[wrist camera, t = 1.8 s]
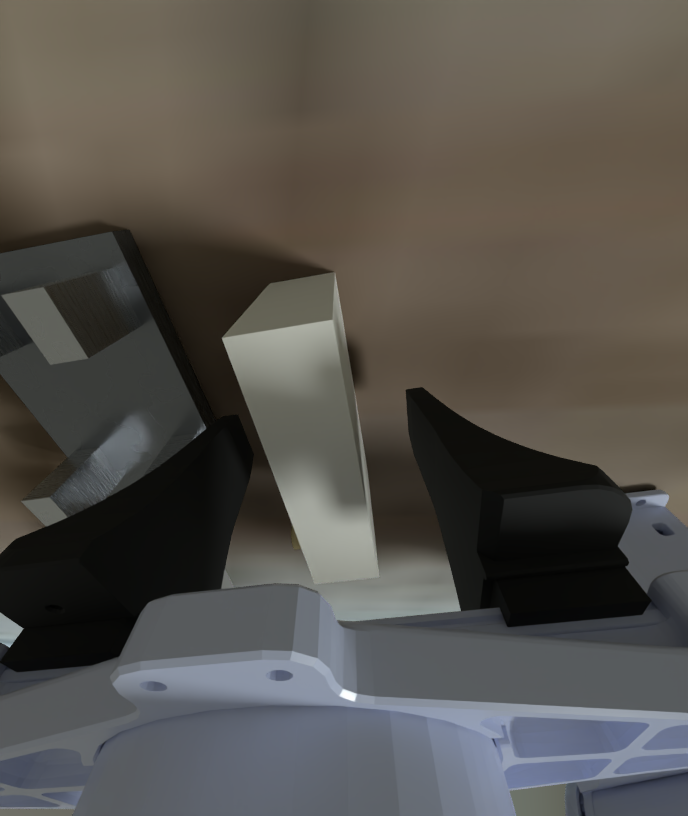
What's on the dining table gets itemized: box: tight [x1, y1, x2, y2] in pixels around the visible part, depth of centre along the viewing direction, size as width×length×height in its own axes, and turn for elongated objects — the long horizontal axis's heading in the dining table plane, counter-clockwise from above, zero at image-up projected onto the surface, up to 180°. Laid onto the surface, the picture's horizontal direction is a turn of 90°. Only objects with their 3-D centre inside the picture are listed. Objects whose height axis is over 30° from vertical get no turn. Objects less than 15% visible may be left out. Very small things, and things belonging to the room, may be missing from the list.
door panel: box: [222, 272, 380, 584], centre depth 12 cm, size 3×10×6 cm, turn 9°
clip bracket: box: [0, 230, 216, 526], centre depth 13 cm, size 7×11×4 cm, turn 9°
